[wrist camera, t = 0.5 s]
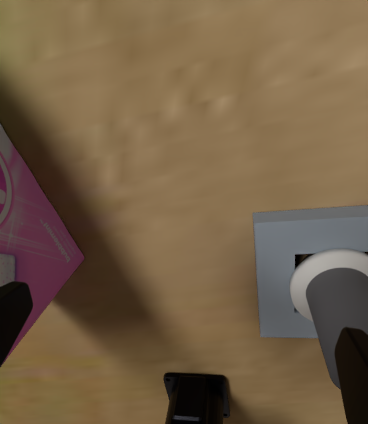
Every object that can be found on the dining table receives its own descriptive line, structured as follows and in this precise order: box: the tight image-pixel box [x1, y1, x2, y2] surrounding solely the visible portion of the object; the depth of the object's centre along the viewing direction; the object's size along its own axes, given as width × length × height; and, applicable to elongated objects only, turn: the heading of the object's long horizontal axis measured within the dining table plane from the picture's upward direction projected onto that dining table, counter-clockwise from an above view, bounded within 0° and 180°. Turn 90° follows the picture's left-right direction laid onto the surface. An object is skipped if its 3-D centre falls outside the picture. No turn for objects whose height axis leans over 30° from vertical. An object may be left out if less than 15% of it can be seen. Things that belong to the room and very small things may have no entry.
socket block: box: [253, 205, 368, 338], centre depth 22 cm, size 11×11×2 cm
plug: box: [289, 248, 368, 389], centre depth 19 cm, size 6×6×9 cm
